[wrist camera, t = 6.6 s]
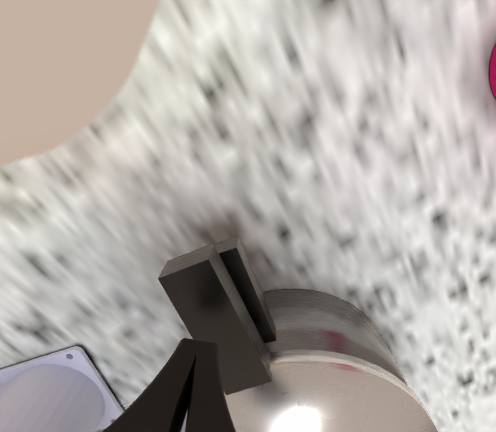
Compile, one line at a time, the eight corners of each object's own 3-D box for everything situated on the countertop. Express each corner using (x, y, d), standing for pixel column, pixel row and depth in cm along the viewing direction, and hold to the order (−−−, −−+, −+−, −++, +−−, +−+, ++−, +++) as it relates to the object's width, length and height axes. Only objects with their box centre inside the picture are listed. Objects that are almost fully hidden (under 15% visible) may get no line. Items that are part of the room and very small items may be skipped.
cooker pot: (247, 481, 30) (244, 569, 24) (122, 254, 23) (78, 306, 17) (415, 443, 28) (454, 531, 22) (336, 180, 21) (365, 211, 15)
